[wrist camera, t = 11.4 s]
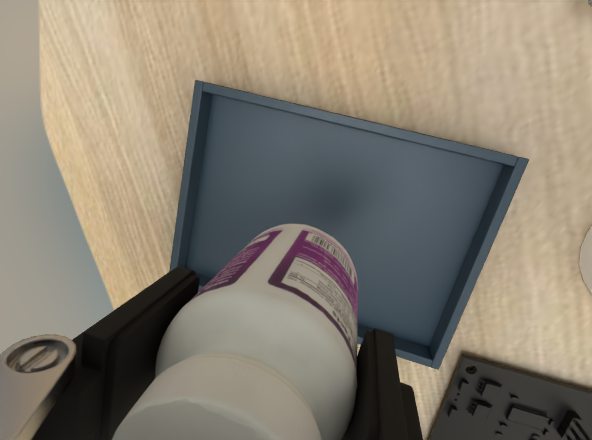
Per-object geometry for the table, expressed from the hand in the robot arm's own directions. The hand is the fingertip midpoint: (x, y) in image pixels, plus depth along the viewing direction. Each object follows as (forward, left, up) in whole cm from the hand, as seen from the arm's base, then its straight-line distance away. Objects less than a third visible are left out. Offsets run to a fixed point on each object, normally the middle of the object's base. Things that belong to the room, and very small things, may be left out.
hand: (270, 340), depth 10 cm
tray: (0, 0, -15) cm, 15 cm away
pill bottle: (0, 0, -5) cm, 5 cm away
